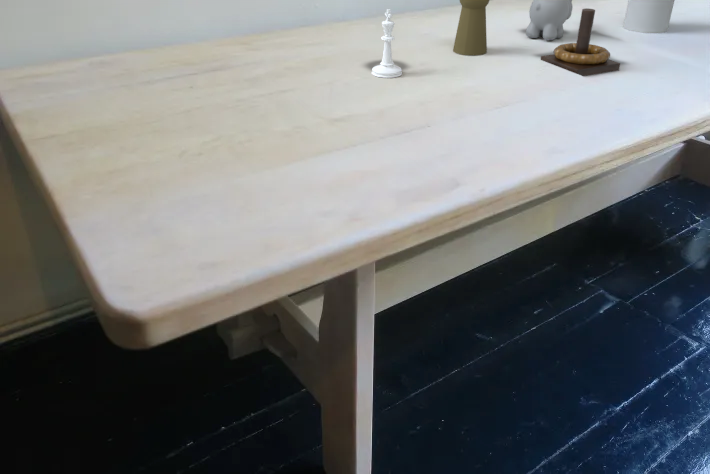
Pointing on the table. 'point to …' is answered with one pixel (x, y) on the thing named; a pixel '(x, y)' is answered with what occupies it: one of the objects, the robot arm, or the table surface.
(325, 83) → the table surface
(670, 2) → the cup
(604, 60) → the ring
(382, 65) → the chess piece
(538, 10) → the round bodied animal figurine
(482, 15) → the olive tapered cylinder
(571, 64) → the wooden peg stand
